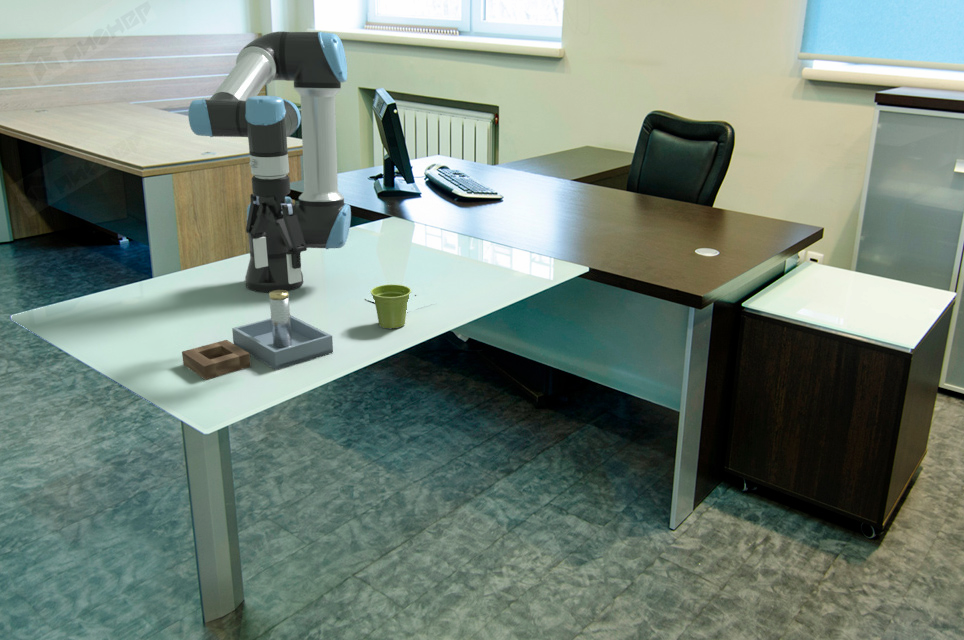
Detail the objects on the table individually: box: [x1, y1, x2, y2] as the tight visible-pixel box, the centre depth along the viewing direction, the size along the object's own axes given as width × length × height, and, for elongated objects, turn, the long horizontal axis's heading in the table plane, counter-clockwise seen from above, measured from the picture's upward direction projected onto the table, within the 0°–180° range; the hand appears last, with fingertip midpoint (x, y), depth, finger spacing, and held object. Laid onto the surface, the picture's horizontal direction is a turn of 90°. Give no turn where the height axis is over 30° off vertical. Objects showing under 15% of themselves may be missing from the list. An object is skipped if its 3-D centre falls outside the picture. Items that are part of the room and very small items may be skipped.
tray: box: [231, 314, 334, 371], centre depth 179 cm, size 14×18×4 cm
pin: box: [268, 290, 292, 348], centre depth 177 cm, size 4×4×12 cm
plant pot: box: [370, 283, 412, 329], centre depth 193 cm, size 9×9×9 cm
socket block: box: [181, 339, 252, 381], centre depth 170 cm, size 10×10×3 cm
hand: (278, 274), depth 174 cm, fingers open, 13 cm apart
